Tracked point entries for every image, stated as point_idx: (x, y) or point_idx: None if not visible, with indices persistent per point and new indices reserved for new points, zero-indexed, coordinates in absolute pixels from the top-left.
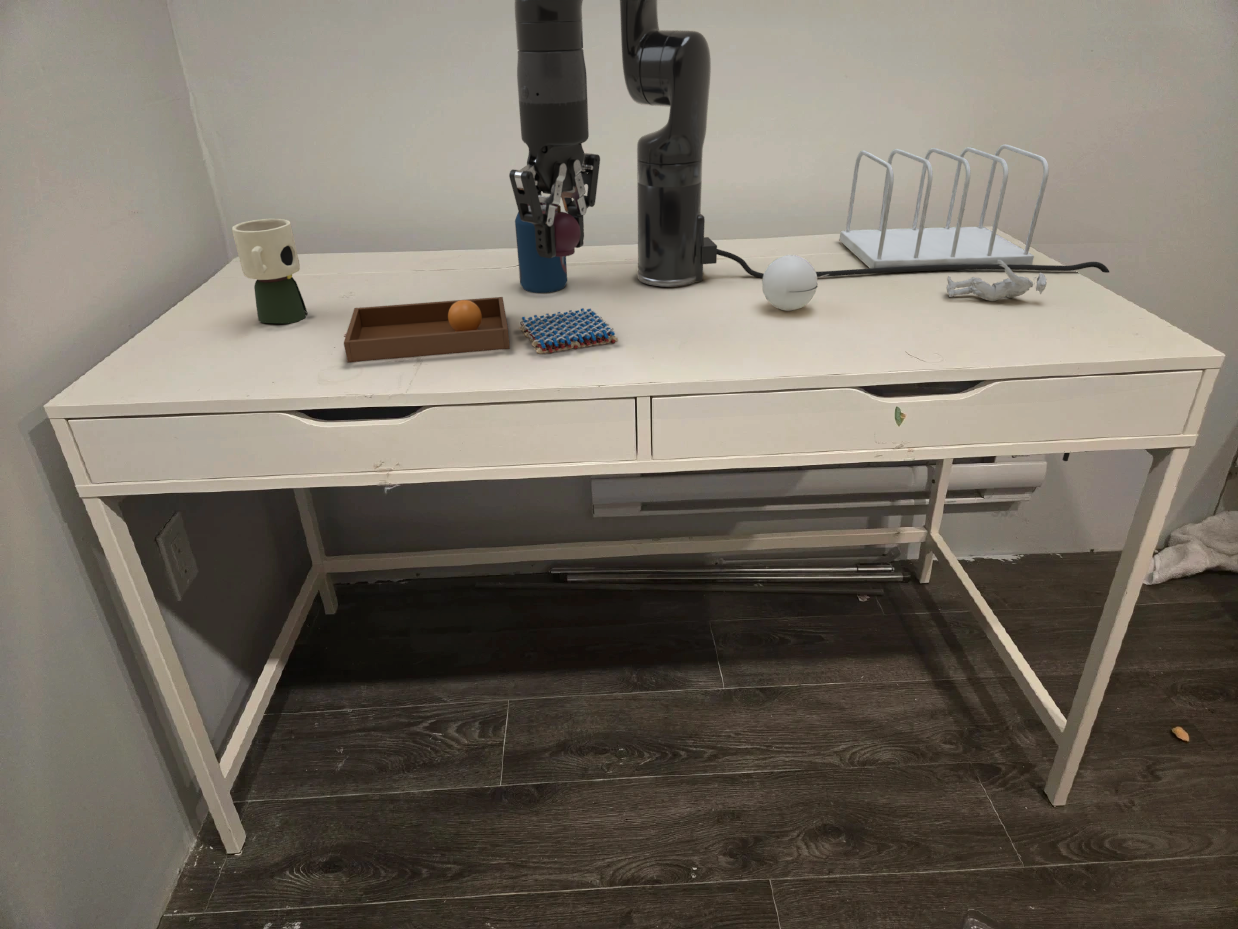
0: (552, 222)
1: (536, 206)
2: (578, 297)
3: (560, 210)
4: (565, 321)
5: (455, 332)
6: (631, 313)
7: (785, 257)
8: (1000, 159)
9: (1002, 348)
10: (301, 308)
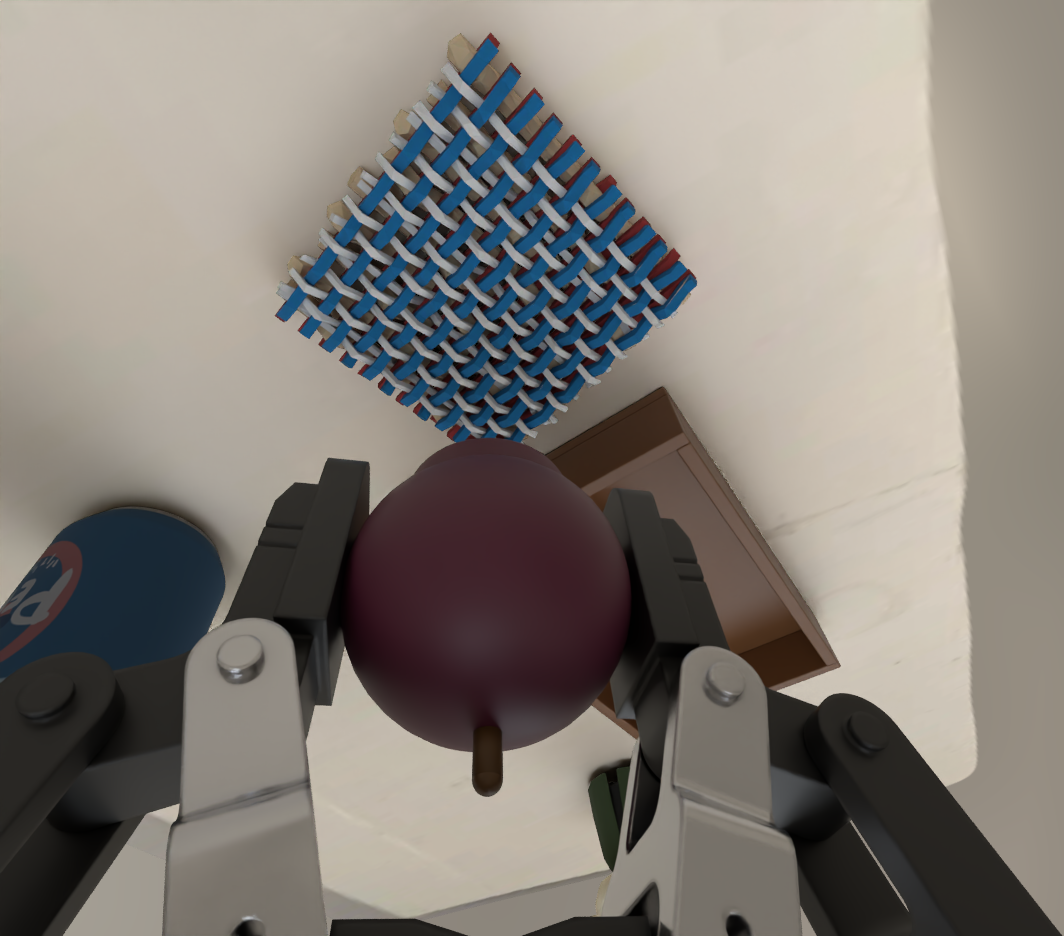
0: (693, 665)
1: (959, 851)
2: (119, 440)
3: (486, 742)
4: (457, 326)
5: (743, 533)
6: (86, 168)
7: None
8: None
9: None
10: (626, 787)
